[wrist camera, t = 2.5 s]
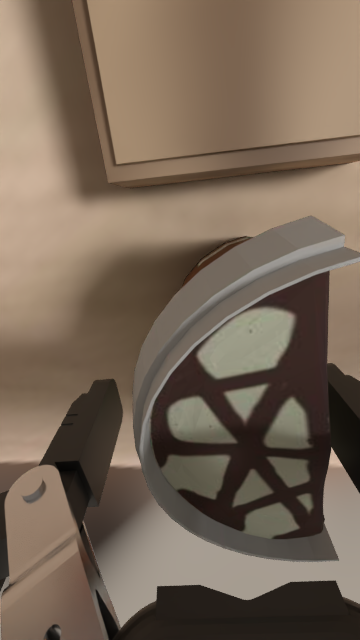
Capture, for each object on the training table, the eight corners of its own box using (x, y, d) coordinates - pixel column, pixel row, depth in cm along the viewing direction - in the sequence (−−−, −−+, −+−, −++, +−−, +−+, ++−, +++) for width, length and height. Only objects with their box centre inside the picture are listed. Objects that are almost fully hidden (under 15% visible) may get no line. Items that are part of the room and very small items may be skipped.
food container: (131, 235, 14) (26, 302, 5) (241, 207, 13) (370, 222, 4) (181, 398, 19) (178, 579, 10) (262, 385, 18) (338, 567, 9)
